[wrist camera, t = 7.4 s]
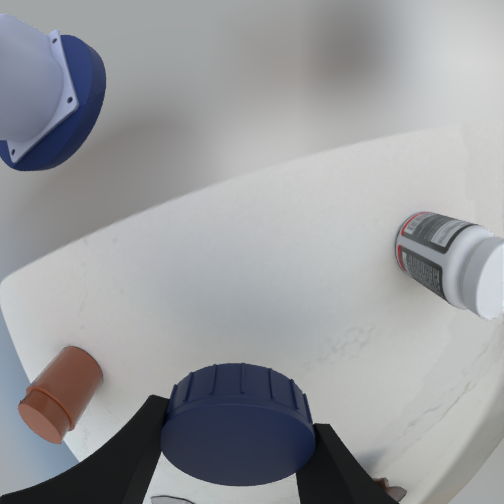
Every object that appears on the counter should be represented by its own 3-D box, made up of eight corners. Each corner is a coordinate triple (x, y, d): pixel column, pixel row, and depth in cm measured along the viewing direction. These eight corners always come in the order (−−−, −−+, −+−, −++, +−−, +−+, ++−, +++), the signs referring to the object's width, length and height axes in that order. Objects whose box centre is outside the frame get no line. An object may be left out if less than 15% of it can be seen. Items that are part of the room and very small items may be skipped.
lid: (281, 456, 11) (285, 491, 9) (163, 435, 10) (153, 470, 8) (330, 375, 9) (345, 414, 7) (177, 344, 9) (161, 383, 7)
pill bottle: (435, 279, 18) (507, 328, 10) (386, 271, 18) (458, 328, 10) (451, 218, 17) (534, 244, 9) (402, 203, 17) (489, 226, 9)
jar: (52, 352, 20) (6, 403, 12) (80, 339, 19) (31, 397, 12) (81, 391, 21) (45, 446, 13) (112, 382, 20) (76, 446, 13)
